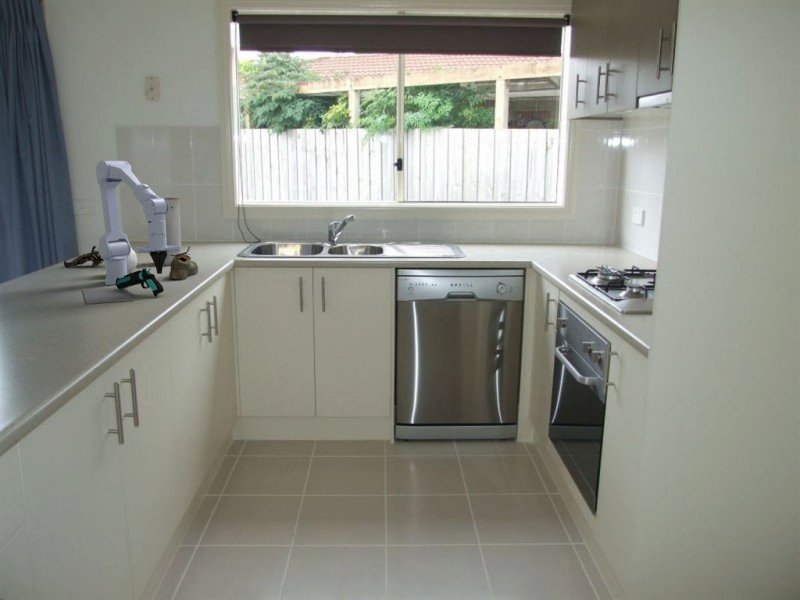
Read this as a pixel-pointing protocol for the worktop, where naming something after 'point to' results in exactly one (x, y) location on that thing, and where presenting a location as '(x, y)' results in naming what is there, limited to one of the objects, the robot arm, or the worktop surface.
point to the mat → (106, 295)
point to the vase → (172, 228)
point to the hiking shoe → (182, 266)
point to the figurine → (86, 259)
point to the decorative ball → (130, 261)
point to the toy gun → (140, 281)
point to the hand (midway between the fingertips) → (159, 273)
